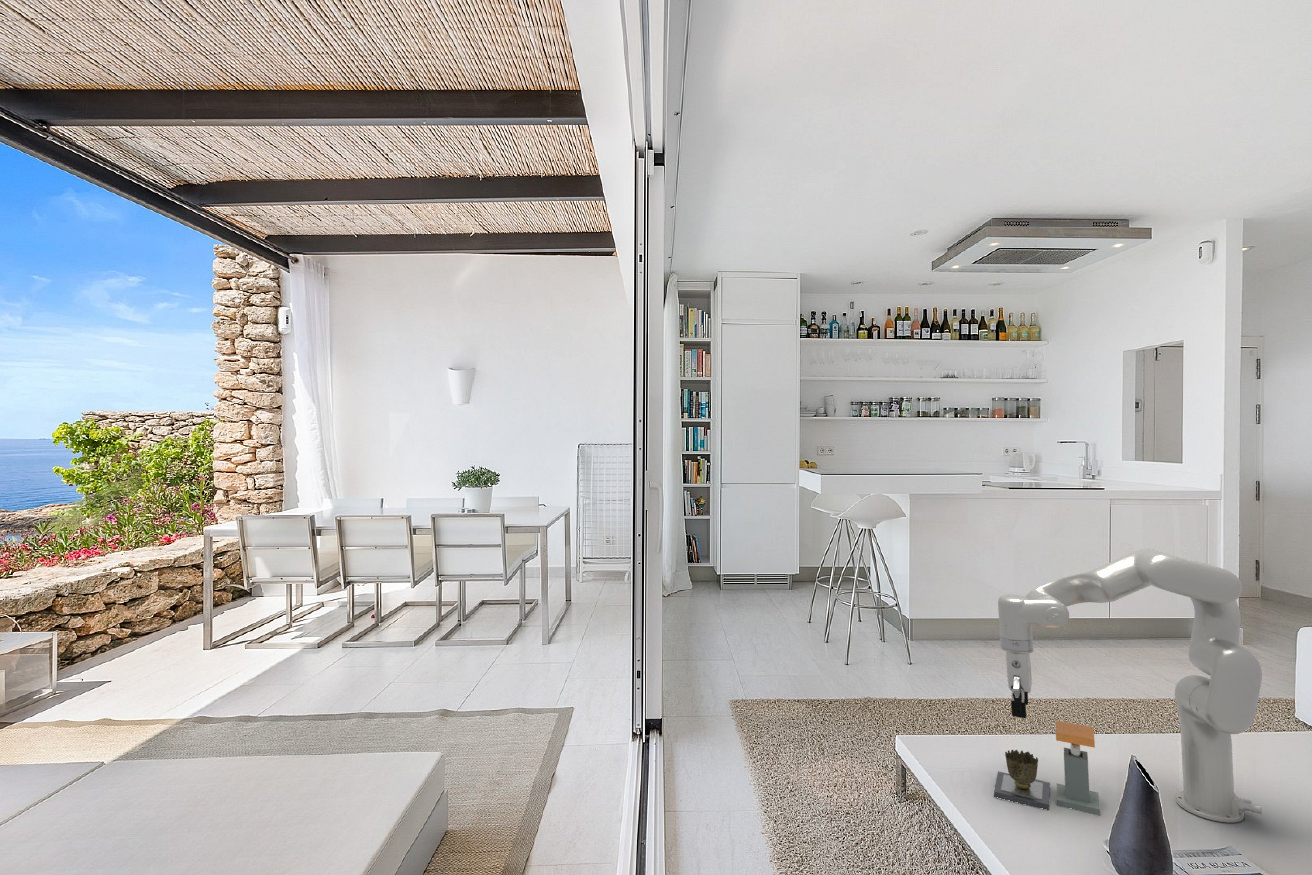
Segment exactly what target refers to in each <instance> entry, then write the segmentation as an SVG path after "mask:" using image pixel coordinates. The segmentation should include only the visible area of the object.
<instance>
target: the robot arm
mask: <svg viewBox="0 0 1312 875" xmlns="http://www.w3.org/2000/svg"><path fill="white" fill-rule="evenodd" d="M1151 586H1152V587H1155V588H1157V589H1161V590H1163V591H1167V592H1170V593H1173V594H1176V595H1180V596H1182V597H1183V596H1184V597H1186V598H1190V600H1191V602H1192V605H1193V609H1194V617H1193V619H1194V620H1193V625H1192V630H1191V636H1190V642H1189V647H1188V659H1189V661H1190V663H1191V664H1192V665H1193V666H1194V667H1195V668H1197V669H1198V670H1200V671H1201V672H1203V673H1204V674H1206V675H1208V676H1210V677H1209V678H1208V677H1205V676H1202V675H1187V676H1184V677H1183V678H1181V679H1179V681H1178V682H1177V683H1176V685H1175V689H1174V700H1175V704H1176V708H1177V712H1178V717H1179V725H1180V743H1181V744H1180V746H1181V764H1182V765H1181V766H1182V768H1181V769H1182V786H1183V790H1181V791H1178V792H1177V793H1176V794H1175V801H1176V803H1177V804H1178V806H1180V807H1181V808H1183V809H1184V810H1185V811H1186V812H1189V813H1191V814H1193V815H1195V816H1197V817H1200V818H1202V819H1203V818H1204V819H1207V820H1209V821H1215V822H1220V823H1226V824H1227V823H1231V824H1233V823H1238V822H1241V821H1243V820H1244V818H1245V816H1244V815H1245V813H1244V812H1245V811H1247V812H1250V813H1254V814H1258V815H1262V814H1263V810H1262V806H1261V805H1260V804H1256V803H1253V802H1252V799H1246V798H1241V797H1240V798H1239V796H1237V794H1236V793H1235V787H1234V786H1235V784H1234V783H1235V782H1234V780H1235V779H1234V767H1233V766H1234V764H1233V763H1234V762H1233V741H1232V735H1239V734H1241V733H1244V732H1246V731H1247V730H1248V729H1250V727H1251V725H1253V723H1254V720H1255V716H1256V713H1257V707H1258V702H1259V697H1260V691H1261V687H1262V679H1263V671H1262V670H1263V669H1262V667H1261V666H1262V665H1261V664H1260V662H1259V660H1258V658H1257V657H1256V656H1255V655H1254V654H1253V653H1252V652H1251V651H1250V650H1249V649H1246V647H1243V646H1241V645H1239V644H1240V643H1239V642H1240V641H1239V640H1240V632H1241V622H1242V620H1241V619H1242V618H1241V612H1240V611H1241V610H1240V607H1239V605H1238V602H1237V600H1238V599H1239V598H1240V597H1241V595H1242V593H1243V585H1242V581H1241V580H1240V579H1239V577H1237V575H1236V574H1234V573H1233V572H1232V571H1230V570H1229V569H1225V568H1222V567H1219V566H1215V565H1212V564H1209V563H1205V562H1202V561H1198V560H1197V561H1196V560H1188V559H1185V558H1182V557H1181V558H1180V557H1178V556H1175V555H1171V554H1169V553H1165V552H1161V551H1158V550H1155V549H1149V548H1144V549H1143V548H1142V549H1137V550H1135V551H1133V552H1132V551H1131V553H1128V554H1125V555H1124V556H1121V557H1119V558H1117V559H1114V560H1112V561H1111V562H1108V563H1105V564H1104V565H1100V566H1098V567H1097V568H1094V569H1091V570H1089V571H1085V572H1080V573H1076V574H1073V575H1070V576H1065V577H1061V578H1058V579H1055V580H1052V581H1049V582H1047V583H1045V584H1043V585H1041V586H1039V587H1036V588H1033V590H1030V591H1029V592H1028V593H1027V594H1026V595H1025V596H1024V595H1020V594H1003V595H1001V596H999V598H998V600H997V607H998V608H997V610H998V611H997V612H998V628H999V643H1000V644H999V646H1000V649H1001V650H1002V651H1004V652H1005V662H1006V674H1007V684H1008V689H1009V690H1010V691H1011V699H1010V704H1011V705H1010V707H1011V716H1012V717H1014V718H1020V719H1026V718H1027V706H1026V705H1029V694H1030V693H1031V692H1032V684H1033V680H1032V668H1031V655H1030V654H1032V653H1034V652H1035V651H1034V637H1033V636H1034V635H1033V626H1035V627H1042V628H1047V629H1057V628H1061V627H1063V626H1065V625H1067V623H1068V622H1069V619H1070V610H1069V609H1068V607H1070V606H1074V605H1078V604H1084V603H1085V604H1087V603H1095V604H1101V603H1102V604H1104V603H1105V604H1106V603H1113V602H1116V601H1118V600H1120V599H1123V598H1124V597H1127V596H1129V595H1131V594H1133V593H1135V592H1138V591H1140V590H1143V589H1146V588H1148V587H1151Z"/></svg>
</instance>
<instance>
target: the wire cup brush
mask: <svg viewBox="0 0 1312 875" xmlns="http://www.w3.org/2000/svg"><path fill="white" fill-rule="evenodd" d="M1004 755H1005V756H1004V757H1005V761H1006V762H1005V763H1006V768H1007V772H1008V774H1009V775H1010V776H1011V778H1012V779H1013V780H1015V781H1014V783H1015V785H1016V786H1017V787H1018V788H1020V789H1025V790H1026V789H1029V788H1030V787H1031V784H1030V783H1033V782H1034V781H1035V779H1036V778H1037V775H1038V768H1039V767H1038V766H1039V765H1038V764H1039V758H1038V757H1036V758H1035V757H1034V754H1033V753H1031V752H1030V751H1026V752H1024V750H1020V751H1018V749H1015V750H1014V749H1011V750H1010V749H1009V750H1007V751H1005V754H1004ZM1036 780H1037V779H1036Z"/></svg>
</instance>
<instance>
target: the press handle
mask: <svg viewBox="0 0 1312 875" xmlns="http://www.w3.org/2000/svg"><path fill="white" fill-rule="evenodd" d="M1094 730H1095V729H1094V726H1090V725H1082V724H1078V723H1072V722H1066V721H1061V720H1055V740H1056V741H1057V742H1058V741H1059V742H1062V743H1068V744H1070V749H1071V755H1072V756H1077V757H1081V756H1080V751H1081V746H1085V747H1090V748H1093V749H1094V748H1096V745H1095V742H1096V741H1095V731H1094Z"/></svg>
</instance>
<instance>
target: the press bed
mask: <svg viewBox="0 0 1312 875" xmlns="http://www.w3.org/2000/svg"><path fill="white" fill-rule="evenodd" d="M1014 781H1015V780H1013V779H1012V778H1011V776H1010V775H1009V772H1008V773H1007V772H1002V771H998V772H997V775H996V779H995V784H994V790H993V798H994V797H998V798H1001V799H1000V800H1002V799H1005V800H1004V801H1007V800H1010V801H1009V802H1011V801H1013V802H1012V803H1015V802H1018V803H1017V804H1019V803H1020V804H1021V805H1023V804H1026V805H1025V806H1028V805H1029V806H1028V807H1032V806H1033V808H1037V809H1040V808H1043V809H1042V810H1044V809H1047V810H1046V811H1048V810H1049V811H1050V801H1049V800H1050V799H1051V783H1050V782H1049V781H1044V780H1039V779H1035V781H1034V782H1033V783H1030V784H1031V787H1030V788H1029V789H1026V790H1025V789H1020V788H1018V787H1017V786H1016V785H1015V783H1014ZM998 798H997V799H998Z"/></svg>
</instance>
